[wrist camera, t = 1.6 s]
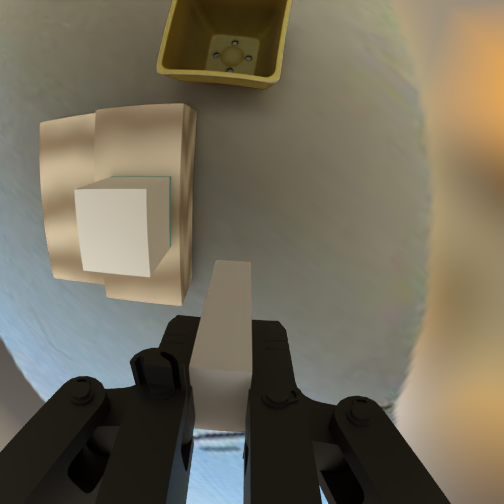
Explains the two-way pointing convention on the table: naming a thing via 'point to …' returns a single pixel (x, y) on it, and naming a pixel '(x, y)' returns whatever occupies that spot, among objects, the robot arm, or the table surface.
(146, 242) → the cream block
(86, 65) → the table surface
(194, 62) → the flower pot
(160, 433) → the robot arm
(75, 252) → the beech steps
